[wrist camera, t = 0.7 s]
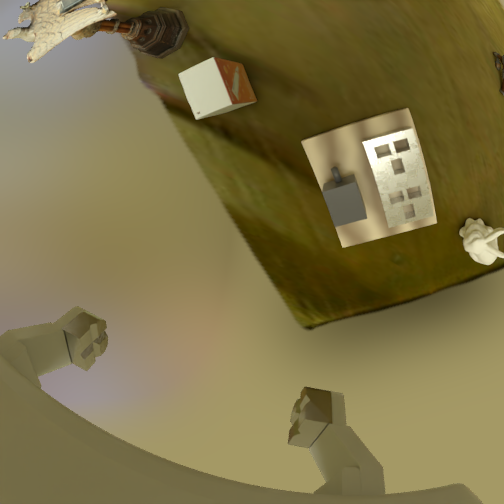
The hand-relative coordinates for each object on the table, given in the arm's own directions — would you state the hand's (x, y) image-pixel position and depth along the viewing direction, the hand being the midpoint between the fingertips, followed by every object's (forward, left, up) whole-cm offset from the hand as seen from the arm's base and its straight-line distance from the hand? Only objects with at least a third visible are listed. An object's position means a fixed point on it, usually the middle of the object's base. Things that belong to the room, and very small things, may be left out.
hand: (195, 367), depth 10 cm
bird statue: (+14, -35, -46) cm, 59 cm away
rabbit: (-27, +26, -46) cm, 59 cm away
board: (-8, +10, -45) cm, 47 cm away
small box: (+9, -15, -46) cm, 49 cm away
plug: (-2, +9, -43) cm, 44 cm away
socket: (-13, +10, -43) cm, 46 cm away
